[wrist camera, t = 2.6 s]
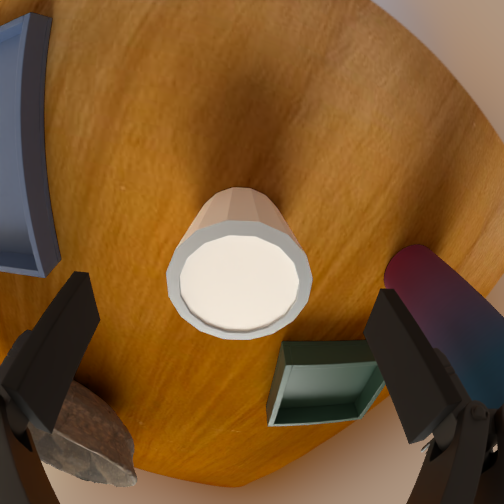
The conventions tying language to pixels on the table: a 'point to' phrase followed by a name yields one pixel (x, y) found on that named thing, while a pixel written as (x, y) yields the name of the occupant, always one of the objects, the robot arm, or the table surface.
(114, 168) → the table surface
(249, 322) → the white faceted candle
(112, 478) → the bowl
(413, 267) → the cup
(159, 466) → the table surface
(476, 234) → the table surface
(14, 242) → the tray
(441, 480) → the robot arm
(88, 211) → the table surface
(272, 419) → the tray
